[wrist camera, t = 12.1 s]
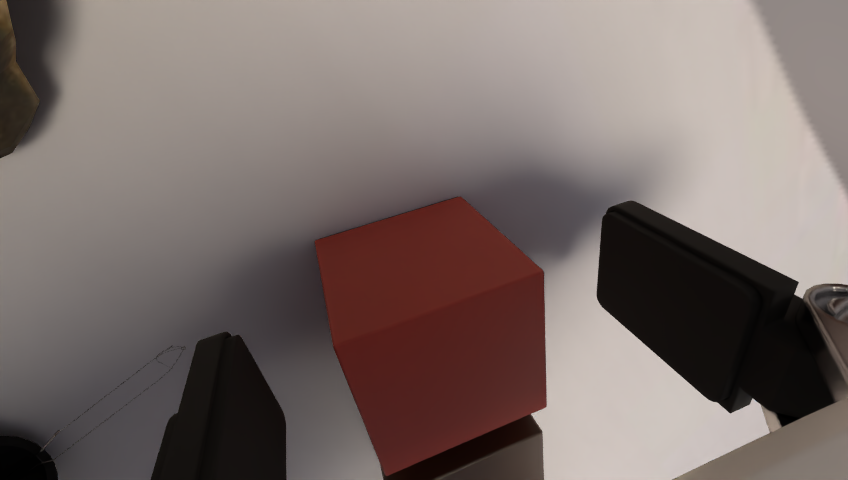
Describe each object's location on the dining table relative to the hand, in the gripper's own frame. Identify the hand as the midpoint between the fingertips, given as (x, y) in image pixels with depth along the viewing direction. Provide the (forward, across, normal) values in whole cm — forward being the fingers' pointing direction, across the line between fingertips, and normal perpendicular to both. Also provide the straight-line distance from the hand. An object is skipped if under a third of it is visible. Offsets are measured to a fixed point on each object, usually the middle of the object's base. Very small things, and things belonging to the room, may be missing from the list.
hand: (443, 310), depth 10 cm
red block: (+2, 0, 0) cm, 2 cm away
